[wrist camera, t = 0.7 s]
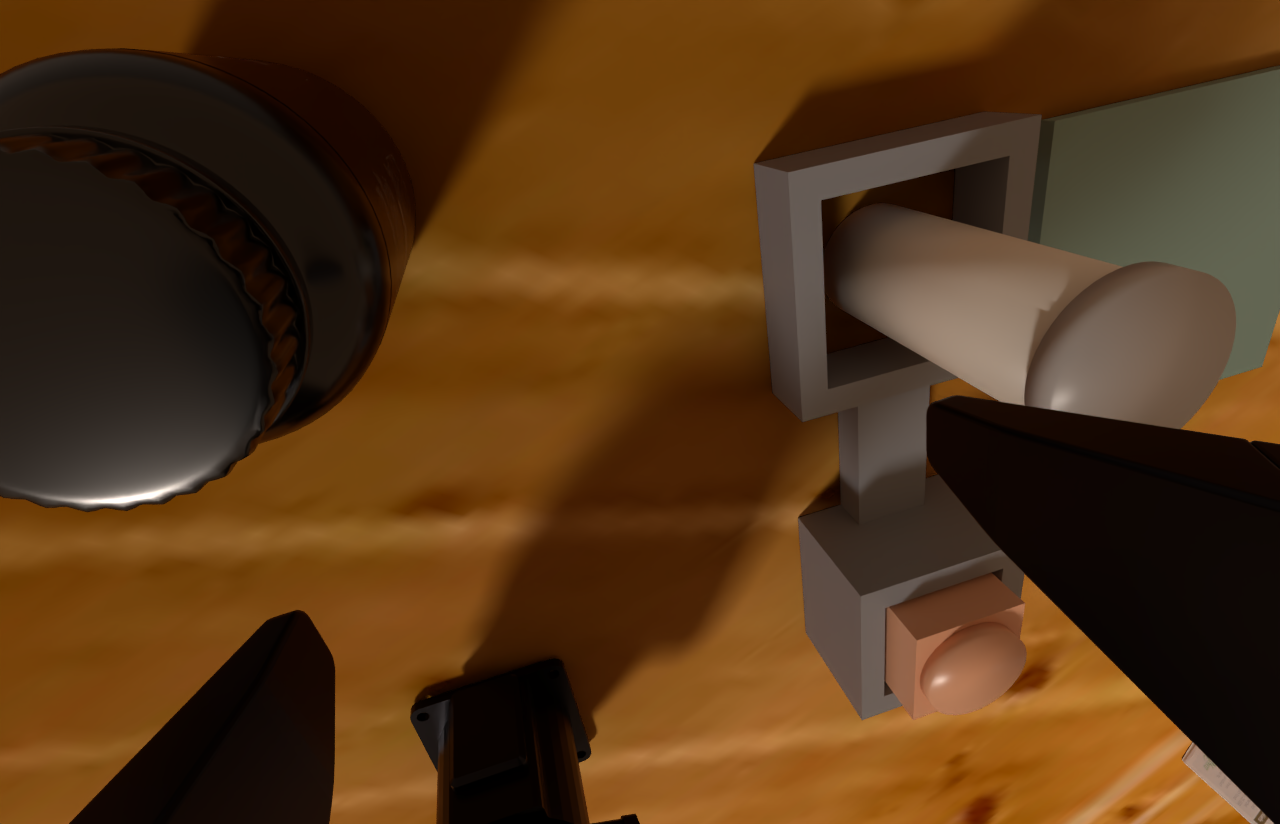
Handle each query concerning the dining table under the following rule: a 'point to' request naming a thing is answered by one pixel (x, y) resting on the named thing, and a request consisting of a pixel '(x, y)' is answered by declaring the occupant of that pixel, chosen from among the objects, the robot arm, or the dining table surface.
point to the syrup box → (1223, 785)
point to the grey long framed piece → (879, 388)
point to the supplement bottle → (182, 267)
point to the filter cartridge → (1035, 315)
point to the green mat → (1175, 191)
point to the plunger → (954, 647)
